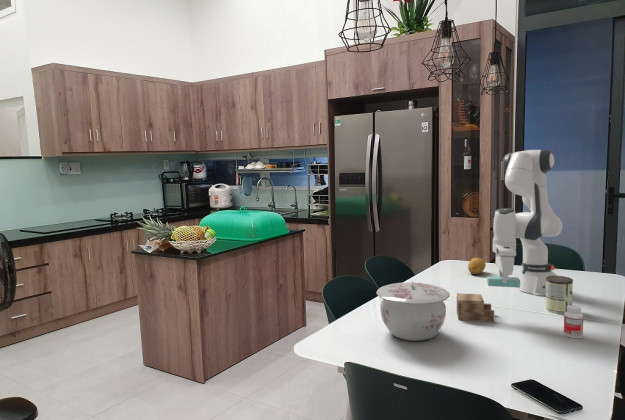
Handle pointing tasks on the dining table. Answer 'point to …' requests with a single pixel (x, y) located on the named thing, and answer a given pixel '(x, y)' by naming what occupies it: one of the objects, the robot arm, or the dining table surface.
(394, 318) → the chamber pot
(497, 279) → the teal rectangular block
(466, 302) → the wooden stepped block
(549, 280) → the coffee can
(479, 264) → the potato
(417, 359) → the dining table surface
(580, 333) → the pill bottle
